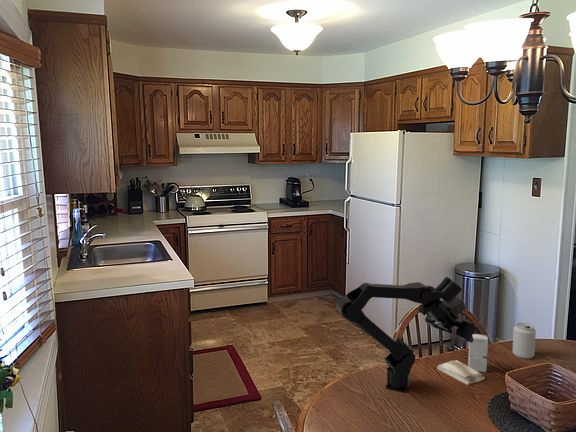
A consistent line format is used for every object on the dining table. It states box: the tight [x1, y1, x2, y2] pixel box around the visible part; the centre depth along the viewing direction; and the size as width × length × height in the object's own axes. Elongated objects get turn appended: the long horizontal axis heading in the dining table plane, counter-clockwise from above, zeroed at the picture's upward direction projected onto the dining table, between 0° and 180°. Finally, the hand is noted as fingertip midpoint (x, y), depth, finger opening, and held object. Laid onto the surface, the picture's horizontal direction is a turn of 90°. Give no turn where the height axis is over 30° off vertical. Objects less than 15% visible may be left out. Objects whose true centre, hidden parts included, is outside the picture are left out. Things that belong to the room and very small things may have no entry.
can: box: [512, 322, 537, 360], centre depth 182 cm, size 8×8×12 cm
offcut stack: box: [436, 359, 486, 386], centre depth 169 cm, size 8×14×2 cm, turn 27°
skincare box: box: [467, 333, 489, 373], centre depth 172 cm, size 6×4×12 cm
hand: (461, 336), depth 167 cm, fingers open, 9 cm apart
